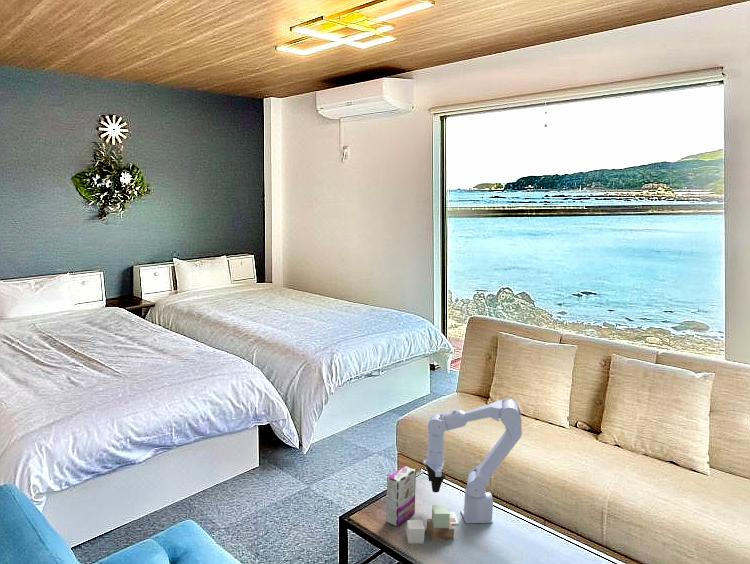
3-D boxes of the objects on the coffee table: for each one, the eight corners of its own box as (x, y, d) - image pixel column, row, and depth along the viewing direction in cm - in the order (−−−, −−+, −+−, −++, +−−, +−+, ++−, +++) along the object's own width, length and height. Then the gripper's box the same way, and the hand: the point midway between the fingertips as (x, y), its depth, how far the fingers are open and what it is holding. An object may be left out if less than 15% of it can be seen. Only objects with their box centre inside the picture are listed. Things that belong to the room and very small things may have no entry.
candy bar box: (403, 508, 197) (405, 464, 194) (415, 513, 194) (417, 469, 191) (384, 522, 188) (386, 476, 186) (396, 527, 185) (398, 481, 183)
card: (454, 513, 195) (454, 511, 194) (458, 524, 188) (458, 523, 188) (440, 513, 194) (440, 512, 194) (444, 524, 187) (444, 523, 187)
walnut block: (446, 528, 186) (446, 517, 185) (453, 540, 179) (454, 529, 179) (426, 530, 184) (426, 518, 184) (433, 542, 178) (433, 531, 177)
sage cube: (446, 519, 184) (447, 505, 183) (449, 528, 179) (449, 513, 178) (431, 519, 184) (432, 505, 183) (433, 528, 179) (434, 513, 178)
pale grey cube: (421, 534, 182) (422, 520, 181) (423, 543, 177) (424, 528, 176) (406, 534, 181) (407, 520, 181) (408, 543, 176) (409, 529, 176)
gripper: (421, 440, 199) (419, 476, 201) (427, 459, 185) (425, 497, 187) (440, 440, 200) (438, 476, 202) (448, 459, 185) (446, 496, 187)
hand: (433, 486), depth 194 cm, fingers open, 7 cm apart
